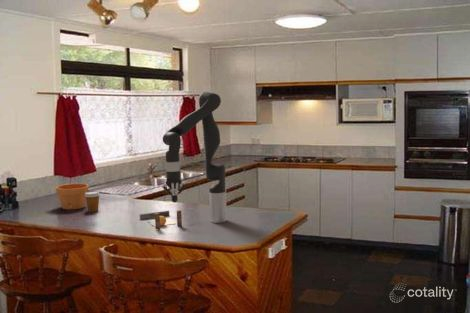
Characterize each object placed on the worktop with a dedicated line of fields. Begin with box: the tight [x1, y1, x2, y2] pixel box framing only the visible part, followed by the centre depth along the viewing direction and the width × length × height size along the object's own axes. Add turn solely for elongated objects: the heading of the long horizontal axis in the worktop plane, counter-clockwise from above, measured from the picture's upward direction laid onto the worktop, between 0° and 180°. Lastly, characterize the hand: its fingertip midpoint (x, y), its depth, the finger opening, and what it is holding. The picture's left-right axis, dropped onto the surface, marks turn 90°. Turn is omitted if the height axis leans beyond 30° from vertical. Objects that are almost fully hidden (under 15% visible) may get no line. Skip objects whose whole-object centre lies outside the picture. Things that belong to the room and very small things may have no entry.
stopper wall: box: [139, 210, 170, 220], centre depth 325 cm, size 2×18×3 cm, turn 114°
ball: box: [160, 216, 167, 227], centre depth 304 cm, size 6×6×6 cm
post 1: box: [154, 213, 161, 230], centre depth 296 cm, size 3×3×9 cm
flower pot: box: [55, 183, 90, 211], centre depth 362 cm, size 21×21×15 cm
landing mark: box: [163, 217, 177, 226], centre depth 312 cm, size 14×14×1 cm
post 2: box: [176, 209, 183, 228], centre depth 301 cm, size 3×3×9 cm
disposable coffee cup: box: [85, 190, 100, 213], centre depth 350 cm, size 10×10×12 cm
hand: (174, 202), depth 285 cm, fingers closed
